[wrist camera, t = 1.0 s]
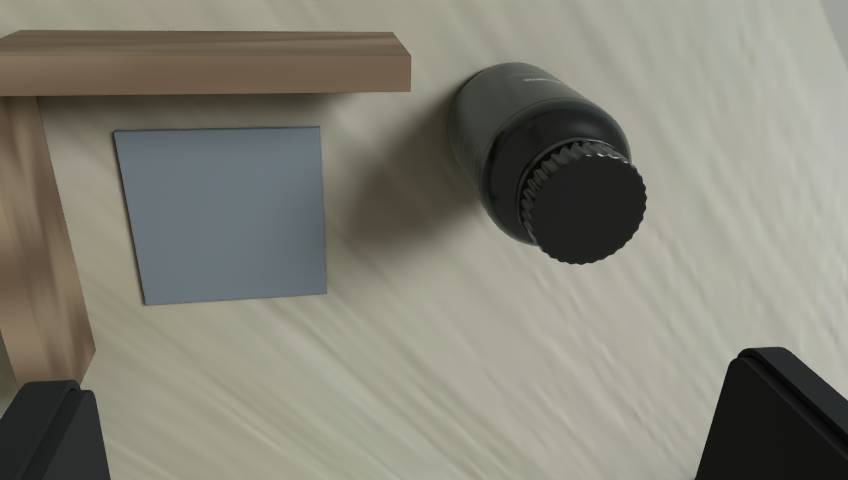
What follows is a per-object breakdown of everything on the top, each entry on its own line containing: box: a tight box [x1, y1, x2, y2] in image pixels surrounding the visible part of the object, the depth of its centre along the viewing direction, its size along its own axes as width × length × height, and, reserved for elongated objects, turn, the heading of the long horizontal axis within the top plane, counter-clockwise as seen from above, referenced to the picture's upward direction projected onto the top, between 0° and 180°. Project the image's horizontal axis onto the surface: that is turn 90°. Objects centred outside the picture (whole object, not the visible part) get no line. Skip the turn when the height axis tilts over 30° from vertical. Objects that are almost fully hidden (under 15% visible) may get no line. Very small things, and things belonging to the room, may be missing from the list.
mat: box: [114, 126, 327, 305], centre depth 35 cm, size 10×10×1 cm
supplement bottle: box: [448, 63, 647, 265], centre depth 30 cm, size 7×7×12 cm
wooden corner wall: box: [0, 30, 411, 390], centre depth 32 cm, size 18×18×6 cm
